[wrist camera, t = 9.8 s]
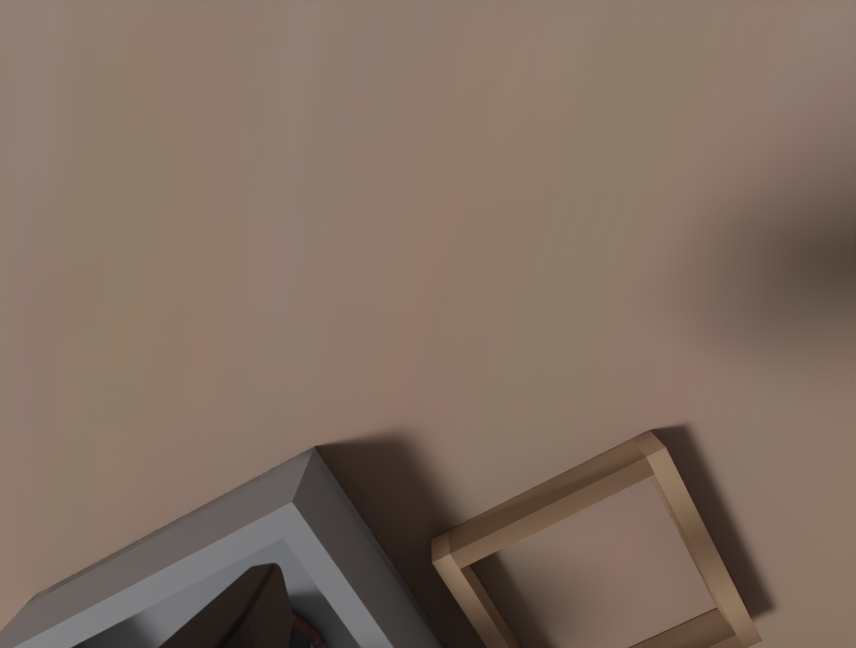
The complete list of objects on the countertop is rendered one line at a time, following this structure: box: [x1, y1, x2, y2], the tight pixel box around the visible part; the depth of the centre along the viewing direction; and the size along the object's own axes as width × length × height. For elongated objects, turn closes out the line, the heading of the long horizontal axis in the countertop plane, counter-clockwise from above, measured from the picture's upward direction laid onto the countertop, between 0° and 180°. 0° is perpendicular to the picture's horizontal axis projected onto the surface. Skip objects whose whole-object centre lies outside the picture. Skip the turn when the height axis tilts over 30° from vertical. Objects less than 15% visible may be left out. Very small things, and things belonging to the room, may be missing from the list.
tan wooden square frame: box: [431, 430, 762, 648], centre depth 23 cm, size 10×10×2 cm
